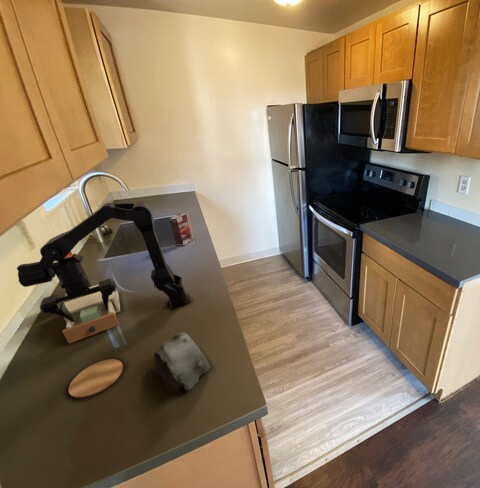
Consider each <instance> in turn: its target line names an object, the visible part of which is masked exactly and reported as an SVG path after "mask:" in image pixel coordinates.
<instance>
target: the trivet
mask: <svg viewBox="0 0 480 488" xmlns="http://www.w3.org/2000/svg"><path fill="white" fill-rule="evenodd" d="M123 365H124V364H123V362H121V360H118V359H115V358H109V359H104V360H101V361H98V362H95V363H92V364H91V365H89V366H87V367H86V368H84V369H83V370H82V371H80V372H79V373H78V374H77V375H76V376H75V377H74V378H73V379H72V381H71V382H70V383H69V386H68V394H69V395H70V396H71V397H72V398H74V399H85V398H89V397H93V396H95V395H97V394H99V393H101V392H103V391H105V390H106V389H107V388H109V387H110V386H111V385H113V384H114V383H115V382H116V381H117V380H118V379H119V378H120V376H121V374H122V373H123V370H124V366H123Z"/></svg>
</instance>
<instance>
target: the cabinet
mask: <svg viewBox="0 0 480 488" xmlns="http://www.w3.org/2000/svg"><path fill="white" fill-rule="evenodd" d="M91 286H92V287H89V288H93V287H96V286H99V284H96V285H91ZM66 295H67V294H66V293H65V294H64V296H66ZM109 300H112V301H113V303H114V305H115V314H118V313H120V312H121V303H120V296H119V292H118V290H117V289H116V291H114V292H112V295H109V298H108V301H109ZM100 303H103V300H102V295H101V292H100V291H99V292H96V293H93V294H90V295H87V296H83V297H80V298H77V299H74V300H71V301H67V302H64V304H65V306H66V308H67V309H68V311H69V312H70V313H73V312H76V311H79V310H82V309H85V308H88V307H91V306H94V305H97V304H100ZM63 319H64V321H65V323H67V319H66V318H64V317H63Z"/></svg>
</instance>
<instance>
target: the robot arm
mask: <svg viewBox="0 0 480 488" xmlns="http://www.w3.org/2000/svg"><path fill="white" fill-rule="evenodd" d="M110 219H114V220H115V219H116V220H121V221H126V222H133V224H134V226H135V227H136V228H137V230H138V231H139V232H140V234H141V236H142V238H143V241H144V244H145V247H146V249H147V252H148V255H149V257H150V261H151V263H152V266H153V268H154V269H151V273H150V279H151V280H152V282H153V287H154V288H156V289H157V290H158V291H160V292H163V293H164V294H165V295H166V296H167V297H168V303H169V306H170V309H171V310H174V309H177V308H180V307H182V306H184V305H187V304H190V303H191V301H190V299H189V297H188V295H187V293H186V291H185V288H184V285H183V278H182V276H181V275H180V276H179V275H177V274H175V273H174V272H173V270H172V268H171V267H170V266H169V264H168V263H167V262H166V258H165V256H164V253H163V249H162V247H161V244H160V241H159V238H158V235H157V232H156V230H155V219H154V210H153V207H152V206H151V204H150V203H147V202H146V201H138V202H136V203H132V202H125V203H121V202H120V203H116V202H115V203H113V202H105V203H104V204H103V205H102V206H101V207H100V208H98V209H97V210H96V211H94V212H93V213H92V214H90V215H89V216H87V217H86V218H84V219H83V220H82V221H81V222H79V223H78V224H76V225H75V226H74V227H73V228H71V229H69V230H67V231H65V232H62V233H60V234H58V235H56V236H54V237H52V238H50V239H48V241H47V242H46V243H45V244H43V246H42V247H40V249H39V252H40V253H39V254H40V255H41V258H40V261H34V262H30V263H21V264H19V265H18V266H17V267H16V269H17V277H18V278H17V279H18V282H19V284H20V285H21V286H22V287H24V288H27V287H32V286H38V285H41V284H45V283H51V282H52V281H53V279H54V278H57V279H58V283H59V286H60V288H61V289H62V290H64V292H65V294H67V295H66V296H65V295H63V296H60V295H59V294H53V295H50V296H47V297H43V298H42V299H41V301H40V304H39V310H40V312H41V313H42V314H43V315H45V314H49V315H53V314H55V315H56V316H59V317H63V319H64V318H66V319H68V320H70V321H72V322H74V318H73V316H72V315H71V313H70V312H69V311H68V309H67V308H66V306H65V304H64V302H67V301H71V300H74V299H77V298H80V297H83V296H87V295H90V294H93V293H96V292H99V291H100V292H101V295H102V300H103V303H104V306H105V309H106V310H108V298H109V295H112V292H114V291H116V290H117V286H116V283H115V279H113V278H108V279H104V280H101V281H98V285H99V286H96V287H93V288H89V287H90V284H91V282H90V280H89V277H88V275H87V274H86V275H85V276H83V274H82V272H81V270H80V268H79V266H78V264H77V263H79V262H80V263H81V262H82V261H83V259H84V256H83V255H80V254H76V253H72V254H73V255H72V257H68V258H65V257H66V256H67V255H68V254H69V252H70V251H71V252H72V251H73V249H74V248H75V247H76V246H77V245H78V243H79V242H81V241H82V240H83V239H85V238H86V237H87V236H89V235H90V234H91V233H93V232H94V231H95V230H97V229H98V228H100V227H101V226H103V224H105V223H106V222H108V221H109V220H110ZM87 277H88V278H87ZM89 282H90V283H89Z"/></svg>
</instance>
